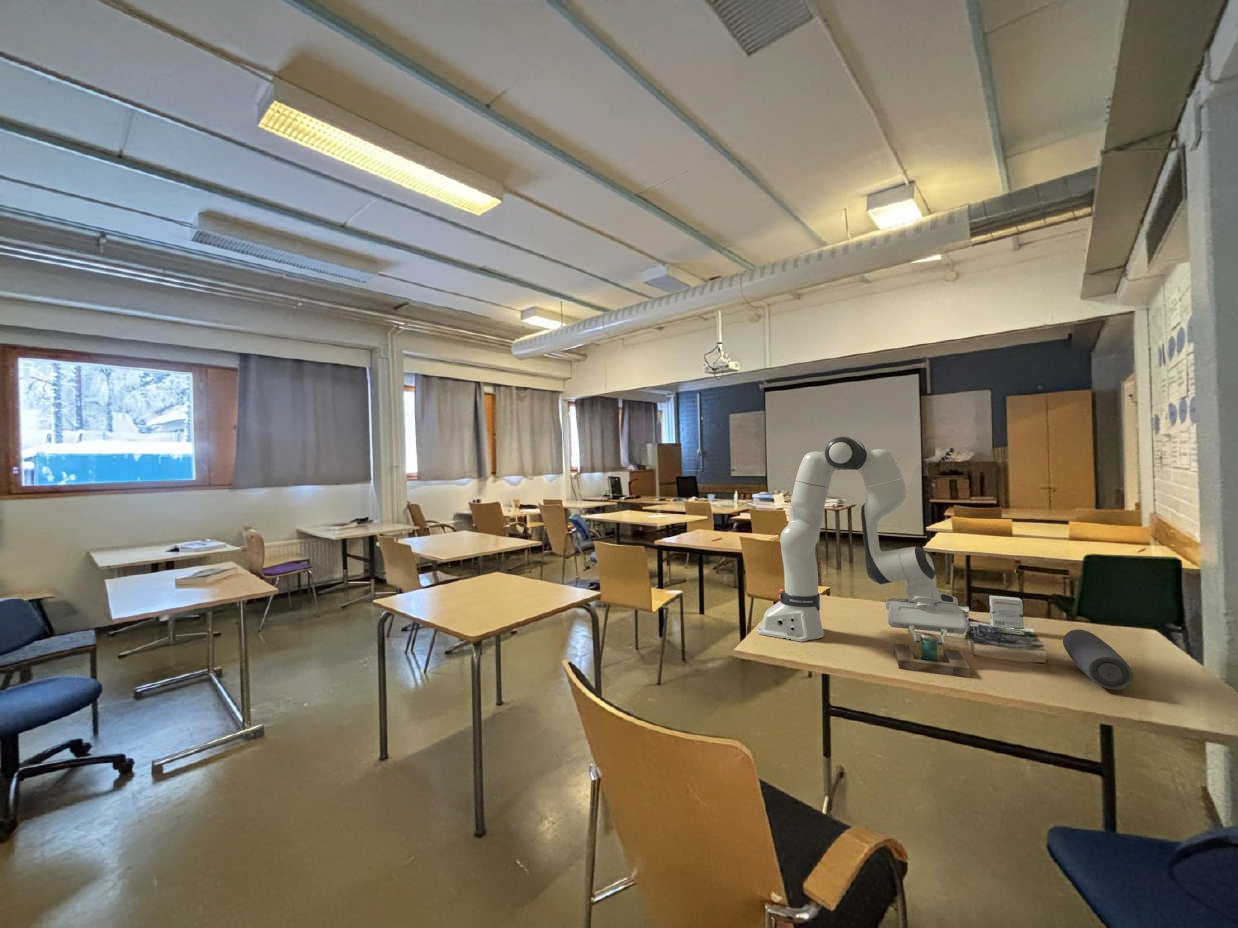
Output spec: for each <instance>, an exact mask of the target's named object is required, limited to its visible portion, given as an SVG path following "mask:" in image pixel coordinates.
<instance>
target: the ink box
mask: <svg viewBox="0 0 1238 928" xmlns="http://www.w3.org/2000/svg"><path fill="white" fill-rule="evenodd" d="M1023 604H1024V603H1023V600H1022V599H1021V598H1019V597H1012V596H1011V597H1010V596H1000V595H989V620H990V624H989V626H990V625H992V626H994V627H1002V628H1014V629H1024V630H1025V628H1024V627H1025V626H1024V625H1025V622H1024V605H1023Z"/></svg>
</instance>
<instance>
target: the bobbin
mask: <svg viewBox="0 0 1238 928" xmlns="http://www.w3.org/2000/svg"><path fill="white" fill-rule="evenodd" d="M937 638H938V636H937V635H935V634H931V633H921V634H920V656H918V657H917V658H916V660H925V661H933V662H942V661H941V660H940V659H938V642H937Z"/></svg>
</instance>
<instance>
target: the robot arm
mask: <svg viewBox="0 0 1238 928" xmlns="http://www.w3.org/2000/svg"><path fill="white" fill-rule="evenodd" d="M841 470H842V471H848V470H851V471H854V470H855V471H857V472H859V474H860V475H861V478H862V481H863V483H864V487H865V490H866V499H865V502H864V503H863V504H862V505H861V509H860V519H861V528H862V529H861V531H862V539H863V545H864V546H863V547H864V556H865V560H864V561H865V569H866V570H865V571H866V575H867V576H868V578H869V579H870V580H872V581H873V582H874V583H877V584H879V585H881V586H882V585H884V584H885V585H886V584H891V583H894V582H899V581H900V582H902V581H904V583H905V585H906V588H905V596H906V598H895V597H893V598H890V599H887V600H886V601H885V607H886V608H885V609H886V610H887V611H888V615H887V616H888V618H887V624H888V625H889V626H890V627H891V628H897V629H906V630H907V629H908V633H909V634H910V635H911V637H913V642H914V643H918V644H921V634H917V633H916V632H915V630H917V631H926V632H927V631H929V632H938V633H940V635H941V636H937V646H944V645H945V638H946V637H947V634H948V633H949V634H957V635H958V634H959V635H964V634H965V633H966V632H967V630H968V623H967V618H966V616H965V613H964V611H963V609H962V608H961V606H959V603H958V602H959V600H958V598H957V597H956V596H953V595H950V594H946V593H943V592H940V591H939V589H938V588H937V576H936V574H937V573H936V567H935V562H934V560H933V556H932V555H931V554H930V553H929V552H928V551H927V550H925V549H923V548H921V547H919V546H909V547H903V548H898V549H891V550H887V551H882V550H881V548H880V541H879V540H880V539H879V532H878V525H879V523H880V521H881V520H882V519H883V518H885V516H887V515H888V514H890V513H891V512H893V511H895V510H896V509H898V508H899V507H900V506H902V504H903V503H904V502H905V500H906V498H907V488H906V487H907V486H906V485H905V483H906V482H905V480H904V477H903V476H902V473H901V470H900V468H899V466H898V463H897V461H896V460H895V457H894V456H893V454H892V452H890V451H888V450H887V449H884V448H883V449H882V448H876V449H871V450H867V449H866V448H865V445H864V444H863V442H861V441H860V440H858V439H856V438H855V437H851V436H837V437H835V438H832V439H831V440H830V441H828V443H827V445H826V446H825V449H824V451H810V452H807V453H806V454H804V456H803V458H802V460H801V462H800V465H799V468H798V471H797V473H796V478H795V480H794V481H795V482H794V486H793V489H792V490H793V491H792V495H791V499H790V510H789V516H788V517H789V518H788V524H787V526H785V527H784V528H783V530H782V531H781V533H780V537H779V538H780V539H779V542H780V550H781V558H782V563H783V575H784V577H783V578H784V589H782V588H780V589H779V590H778V602H776V603H775V604H773V605H772V606H770V607H769V608H767V609H766V610H765V612H764V615H763V619H762V621H763V620H764V621H763V624H761V626H760V627H758V628H757V626H758V624H760V623H761V622H762V621H760V622H759V623H758V624H757V626H756V633H758V634H759V635H762V636H767V637H773V638H778V639H783V638H786V639H785V640H789V639H791V641H795V642H802V643H803V642H807V641H809V640H818V639H822V638H823V637H824V636H825V631H824V629H823V625H822V620H821V615H820V614H821V613H820V610H821V596H820V592H819V575H818V565H817V557H816V545H817V543H818V542H819V538H820V533H821V529H822V528H821V527H822V522H823V518H824V517H823V516H824V510H825V506H826V502H827V497H828V493H829V489H830V484H831V480H832V476H833V474H834V473H835V472H836V471H841Z"/></svg>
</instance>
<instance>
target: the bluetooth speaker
mask: <svg viewBox="0 0 1238 928" xmlns="http://www.w3.org/2000/svg"><path fill="white" fill-rule="evenodd" d="M1062 644H1063V648H1064V650H1065V651H1066V653H1067V654H1068V656H1069V658H1070V659H1071V660H1072V661H1073V663H1074V664H1075V665H1076V667H1078V669H1079V670H1080V671H1082V672H1083V673H1084V674H1085V676H1087V677H1088V678H1089V680H1090V681H1092V680H1093V681H1094V683H1095V684H1097V685H1098V686H1100V687H1102V688H1104V689H1109V690H1118V691H1119V690H1124V689H1125V688H1128V687H1129V686H1130V685H1131V684H1132V682H1133V680H1134V674H1133V671H1132V669H1131V667H1130V666H1129V664H1128V662H1127V661H1126V660H1124V658H1123V657H1122V656H1121V655H1120V654H1119V653H1118V652H1117V651H1116V650H1115V649H1113V647H1112V646H1110V645H1109V644H1108V643H1107V642H1105V641H1104V640H1103V639H1102V638H1100V637H1099V636H1098V635H1095V634H1094V633H1092V632H1091V631H1088V630H1085V629H1078V628H1077V629H1072V630H1070V631H1067V633H1066V634H1065V635H1064V636H1063V640H1062ZM1093 681H1092V682H1093Z"/></svg>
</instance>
